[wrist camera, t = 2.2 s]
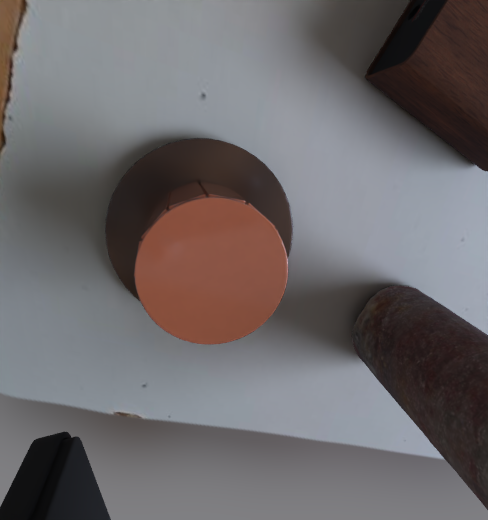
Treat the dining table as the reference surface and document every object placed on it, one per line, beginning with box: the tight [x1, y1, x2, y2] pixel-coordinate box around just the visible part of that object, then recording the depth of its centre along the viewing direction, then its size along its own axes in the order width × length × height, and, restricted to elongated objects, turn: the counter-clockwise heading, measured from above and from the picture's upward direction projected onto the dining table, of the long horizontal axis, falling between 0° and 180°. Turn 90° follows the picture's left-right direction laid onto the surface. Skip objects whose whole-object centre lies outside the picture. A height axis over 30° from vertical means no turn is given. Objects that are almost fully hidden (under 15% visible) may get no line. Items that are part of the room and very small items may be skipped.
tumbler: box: [134, 181, 288, 344], centre depth 23 cm, size 7×7×9 cm
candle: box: [352, 286, 488, 510], centre depth 24 cm, size 8×7×20 cm
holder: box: [105, 138, 293, 302], centre depth 24 cm, size 13×13×10 cm
